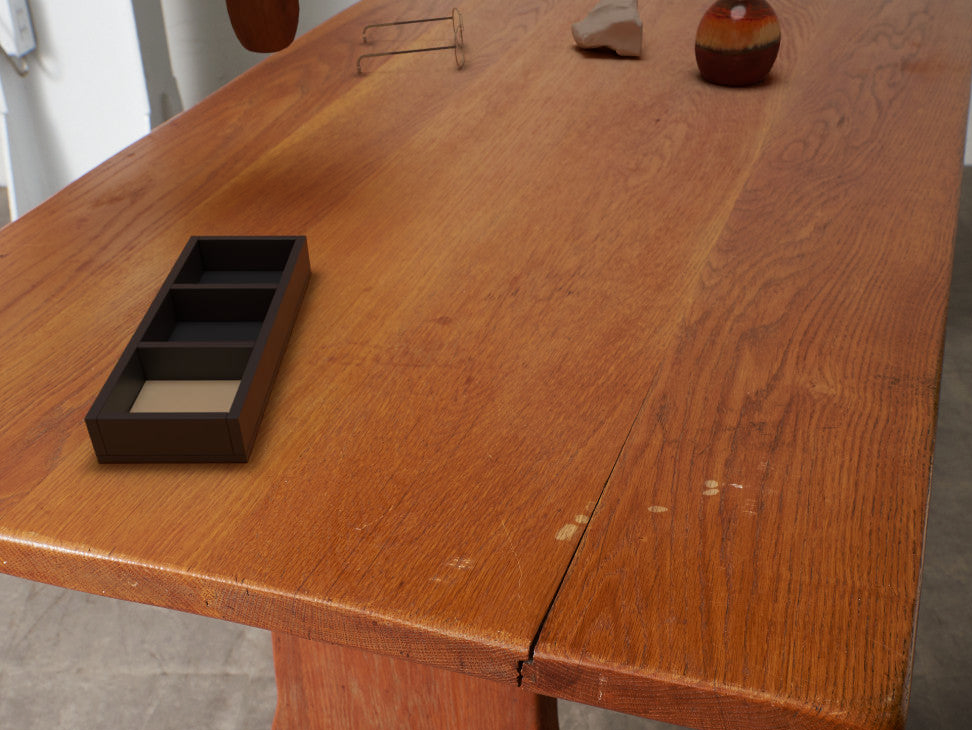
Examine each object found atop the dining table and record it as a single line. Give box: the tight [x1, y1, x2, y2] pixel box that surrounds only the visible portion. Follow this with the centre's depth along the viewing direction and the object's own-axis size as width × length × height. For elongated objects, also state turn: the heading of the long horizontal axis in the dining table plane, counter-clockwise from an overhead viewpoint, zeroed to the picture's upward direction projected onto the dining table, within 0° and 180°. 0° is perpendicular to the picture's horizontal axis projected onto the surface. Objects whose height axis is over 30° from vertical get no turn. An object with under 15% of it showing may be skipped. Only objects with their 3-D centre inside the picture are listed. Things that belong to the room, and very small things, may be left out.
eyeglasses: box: [356, 7, 465, 74], centre depth 143 cm, size 16×15×5 cm
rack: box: [83, 234, 312, 464], centre depth 78 cm, size 10×29×4 cm, turn 0°
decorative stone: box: [571, 0, 644, 57], centre depth 144 cm, size 11×9×10 cm
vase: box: [694, 0, 782, 87], centre depth 131 cm, size 11×11×15 cm
